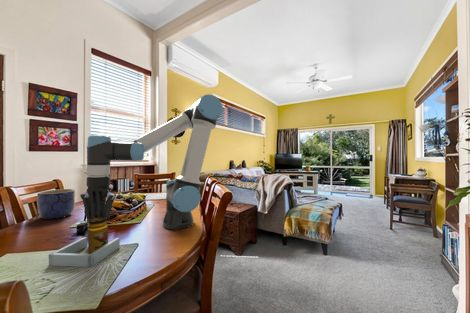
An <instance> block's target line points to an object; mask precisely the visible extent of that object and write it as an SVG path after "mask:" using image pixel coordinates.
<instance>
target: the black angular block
mask: <svg viewBox="0 0 470 313" xmlns="http://www.w3.org/2000/svg"><path fill="white" fill-rule="evenodd" d="M88 223H89V221H88V222H79V223H78V224H76V229H75V230H76V232H75V233H74V234H72V235H71V236H70V237H71V238H73V237H74V238H75V237H85V236H86V235H88V228H89V224H88Z"/></svg>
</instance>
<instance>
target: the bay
mask: <svg viewBox="0 0 470 313" xmlns="http://www.w3.org/2000/svg"><path fill="white" fill-rule="evenodd" d="M120 242H121V241H120V237H116V238H114V239H112V240H111V241H108V244H106V245H104V246H103V247H101V248H99V249H98V250H96V251H95V252H93V253H91V254H82V253H78V252H79V251H81V250H83V249H85V248H86V247H88V236H86V237H85V236H82V238H80V239H77V240H75V241H73V242H72V243H69V244H68V245H65V246H63V247H61V248H60V249H57V250H55V251H52V253H49V254H48V266H51V267H52V266H53V267H54V266H57V267H84V268H86V267H87V268H92V267H94V266H95V265H96V264H98V263H99V262H101V261H102V260H103V259H105V258H106V257H108V256H109V255H111V254H112V253H113V252H115V251H116V250H118V249H119V248H120V246H121V245H120Z"/></svg>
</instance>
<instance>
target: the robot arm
mask: <svg viewBox="0 0 470 313" xmlns="http://www.w3.org/2000/svg"><path fill="white" fill-rule="evenodd" d="M223 110H224V108H223V104H222V101H221V100H220V99H219V98H218V97H217V96H216V95H213V94H210V93H209V94H207V93H206V94H204V95H202V96H200V97H199V98H198V99H197V100H196V101H195V102H193V104H192V105H191V106H190V107H188V108H187V109H185V110H183V111H182V112H181V113H180V115H179V116H177V117H174V118H173V119H171V120H169V121H168V122H166V123H164V124H161V125H160V126H158V127H156V128H154V129H152V130H150V131H148V132H146V133H145V134H142V135H141V136H139V137H137V138H135V139H133V140H131V141H130V142H127V141H112V138H111V137H110V136H108V135H98V134H97V135H95V134H93V135H92V134H91V135H88V137H87V144H86V176H87V177H86V187H87V189H86V192H84V193H80V195H79V197H80V199H81V200H82V203H83V207H84V213H85V217H86V219H87V220H91V219H93V218H96V217H105V218H106V220H107V219H109V218H110V217H109V215H110V211H111V208H112V204H113V202H114V200H115V198H117V194H116V193H112V192H111V189H110V185H111V177H110V176H111V175H110V174H111V162H112V161H114V162H115V161H123V162H125V161H127V162H130V161H131V162H139V161H143V160H144V157H145V153H146V152H148V151H150V150H152V149H154V148H156V147H158V146H160V145H161V144H163V143H165V142H166V141H169V140H170V139H172V138H174V137H176V136H177V135H179V134H181V133H183V132H184V131H187V130H188V129H189V130H191V133H190V137H189V141H188V144H187V148H186V152H185V156H184V160H183V163H182V167H181V171H180V174H179V175H178V176H177V177H175V179H169V180H166V183H165V189H166V193H165V194H166V198H165V199H166V200H165V201H166V211H165V215H164V218H163V221H162V227H163V228H164V229H166V230H167V229H168V230H182V229H181V228H183V229H186V228H185V227H187V228H189V226H190V227H191V225H192V224H193V225H194V217H193V214H192V211H194V210H195V209H196V208H197V207H198V206H199V204H200V202H201V199H202V196H201V192H200V190H201V186H202V182H201V180H200V177H201V172H202V168H203V164H204V161H205V158H206V157H205V156H206V152H207V150H208V149H207V148H208V144H209V141H210V136H211V132H212V130H213V129H215V128H216V126H217V122H218V119H219V118H220V117H221V115H222V113H223ZM105 203H106V204H105ZM193 225H192V226H193Z"/></svg>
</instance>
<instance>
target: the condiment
mask: <svg viewBox="0 0 470 313" xmlns="http://www.w3.org/2000/svg"><path fill="white" fill-rule="evenodd" d="M88 223H89V224H88V233H87V247H85V248H84V250H83V251H82V252H81V254H91V253H93V252H95V251H96V250H98V249H99V248H101V247H103V246H104V245H106V244H108V243H109V229H108V228H109V227H108V226H109V225H108V224H107V219H106V218H105V217H96V218H93V219H89V221H88Z"/></svg>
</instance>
